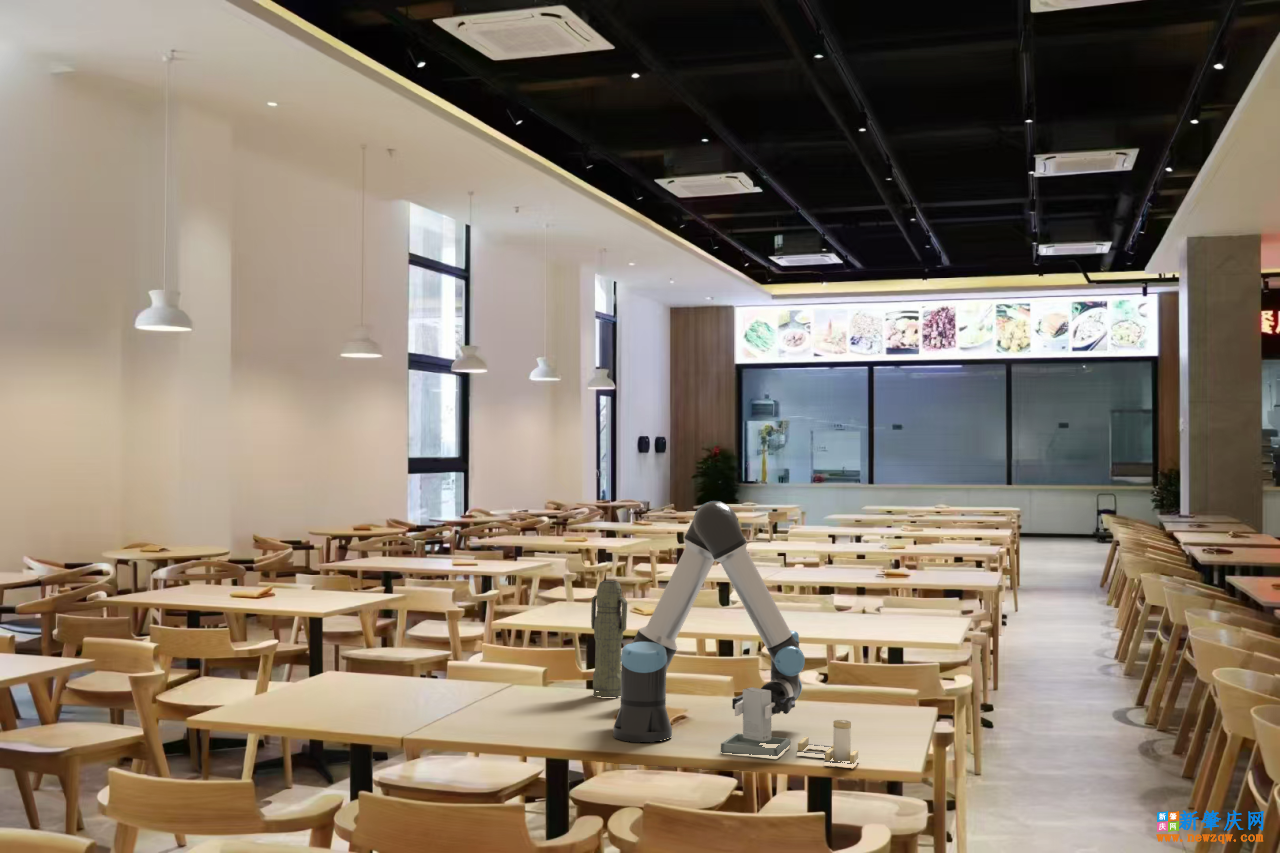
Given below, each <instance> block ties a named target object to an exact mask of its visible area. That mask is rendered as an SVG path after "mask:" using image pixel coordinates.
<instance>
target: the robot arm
mask: <svg viewBox="0 0 1280 853" xmlns="http://www.w3.org/2000/svg"><path fill="white" fill-rule="evenodd" d="M739 523H740V522H739V520H738V516H737V514H736V512H735V511H734V509H733V508H731V506H730V505H728V504H726V503H725V502H722V501H718V500H712V501H711V500H710V501H708V502H705V503H703V504H701V506H699V507H698V508H697V510H696V511H695V513H694V515H693V519H692V522H691V523H690V525H689V527H688V529H687V531H686V533H685V536H684V537H683V540H684V544H685V548H684V551H682V554H681V556H680V558H679V560H678V562H677V564H676V566H675V568H674V570H673V571H672V575H671V576H670V578H669V581H668V582H667V585H666V586H665V589H664V590H663V593H662V595H661V597H660V599H659V600H658V603H657V604H656V607H655V608H654V610H653V613H652V614H651V616H650V619H649V621H648V623H647V624H646V626H644V627H641V628H639V629H638V630H637V632H636V634H635V636H634V639H633V641H632V642H631V643H627V644H625V645H624V646H623V647H622V648H621V697H620V707H619V710H618V713H617V716H616V719H615V722H614V724H613V732H612V736H613V738H614V739H616V740H619V741H624V742H629V741H630V742H629V743H640V742H650V743H654V742H653V741H660V740H664V739H667V738H670V737H671V736H672V737H673V728H672V724H671V721H670V718H669V715H668V711H667V707H666V702H667V701H666V698H667V697H666V696H667V695H666V694H667V687H666V686H667V671H668V668H669V666H670V665H671V663H672V661H673V658H674V657H675V654H676V652H677V650H678V646H677V643H676V639H677V638H678V635H679V633H680V631H681V629H682V628H683V625H684V623H685V621H686V619H687V617H688V615H689V614H690V611H691V609H692V607H693V605H694V603H695V601H696V600H697V597H698V595H699V593H700V591H701V589H702V587H703V585H704V582H705V581H706V578H707V577H708V574H709V573H710V571H711V569H712V567H713V565H714V562H717V563H720V564H721V566H722V568H723V570H724V571H725V574H726V575H727V578H728V580H729V581H730V583H731V586H733V589H734V590H735V592H736V594H737V596H738V598H739V600H740V601H741V603H742V606H743V607H744V609H745V610H746V612H747V614H748V617H749V618H750V620H751V622H752V624H753V626H754V628H755V629H756V631H757V633H758V635H759V637H760V638H761V641H762V642H763V644H764V646H765V648H766V650H767V652H768V654H769V656H770V681H769V682H767V683H765V684H764V685H763V686H762V687H761V688H760V689H765V690H770V691H771V704H769V705H768V706H766V707H765V719H769V718H770V717H771V718H772V717H773V716H774V715H776V714H777V715H778V714H781V712H783V714H785V715H787V714H789V713H790V711H791V710H792V709H794V708H796V701H797V699H798V698H799V696H801V694H802V690H803V684H802V681H801V680H800V673H801V672H802V671H803V669H804V667H805V663H806V660H805V655H804V653H803V651H802V650H801V648H800V638H799V636H800V635H799V633H798V631H796V630H791V629H790V628H789V626H788V625H787V622H786V621H785V618H784V617H783V615H782V613H781V612H780V610H779V607H778V606H777V604H776V601H775V600H774V598H773V597H772V594H771V592H770V591H769V589H768V587H767V585H766V583H765V581H764V580H763V578H762V576H761V574H760V572H759V570H758V568H757V566H756V565H755V563H754V561H753V559H752V557H751V555H750V554H749V552H748V550H747V546H748V542H747V540H746V538H745V535H744V534H743V532H742V529H741V526H740V524H739ZM731 707H732V710H734V717H739V716H740V715H743V694H741V695H738V696H736V697H733V698H732V706H731Z"/></svg>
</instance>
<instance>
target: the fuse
mask: <svg viewBox="0 0 1280 853" xmlns="http://www.w3.org/2000/svg"><path fill="white" fill-rule="evenodd" d="M832 723H833V724H832V725H833V735H832V736H833V742H832V743H833V744H832V745H833V760H834V761H840V762H842V761H850V754H851V748H852V746H851V745H852V743H851V740H852V739H851V738H852V737H851V732H852V731H851V730H852V729H851V728H852V721H850V720H847V719H836V720H835V719H834V720H833V722H832Z"/></svg>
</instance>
